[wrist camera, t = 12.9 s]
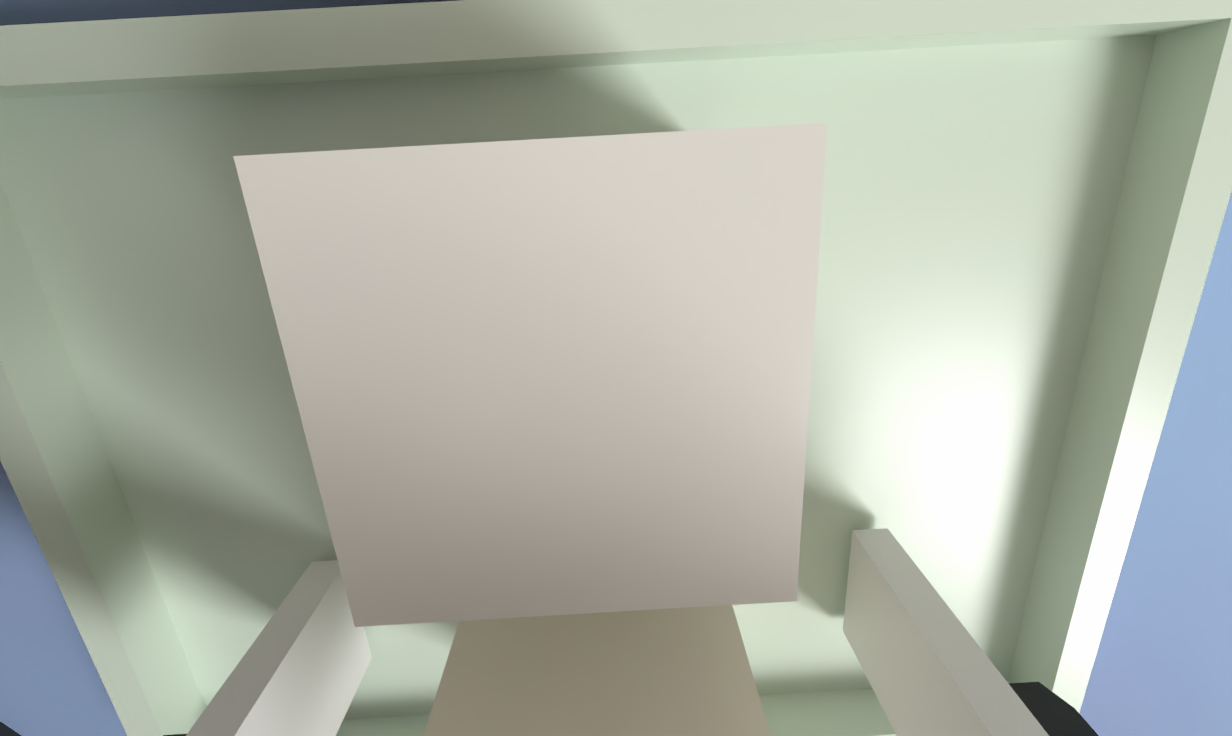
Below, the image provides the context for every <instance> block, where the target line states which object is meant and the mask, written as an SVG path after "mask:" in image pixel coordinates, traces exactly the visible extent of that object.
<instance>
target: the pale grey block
mask: <svg viewBox="0 0 1232 736" xmlns="http://www.w3.org/2000/svg"><path fill="white" fill-rule="evenodd" d="M826 138H827V123H817V124H800V125H782V126H764V127H746V128H728V129H710V130H692V131H674V132H656V133H638V134H620V135H602V136H584V137H566V138H549V139H531V140H513V141H495V142H477V143H459V144H441V145H423V146H405V147H387V148H369V149H351V150H333V151H316V152H298V153H280V154H262V155H244V156H233V157H234V161H235V165H236V169H237V173H238V177H239V181H240V185H241V188H242V192H243V196H244V200H245V204H246V208H247V212H248V216H249V219H250V223H251V227H252V231H253V235H254V239H255V243H256V247H257V250H258V254H259V258H260V262H261V266H262V270H263V274H264V277H265V281H266V285H267V289H268V293H269V297H270V301H271V305H272V308H273V312H274V316H275V320H276V324H277V328H278V332H279V336H280V339H281V343H282V347H283V351H284V355H285V359H286V363H287V367H288V370H289V374H290V378H291V382H292V386H293V390H294V394H295V397H296V401H297V405H298V409H299V413H300V417H301V421H302V425H303V428H304V432H305V436H306V440H307V444H308V448H309V452H310V456H311V459H312V463H313V467H314V471H315V475H316V479H317V483H318V486H319V490H320V494H321V498H322V502H323V506H324V510H325V514H326V517H327V521H328V525H329V529H330V533H331V537H332V541H333V545H334V548H335V552H336V556H337V560H338V564H339V568H340V572H341V576H342V579H343V583H344V587H345V591H346V595H347V599H348V603H349V606H350V610H351V614H352V618H353V622H354V626H355V627H364V626H382V625H399V624H416V623H433V622H450V621H467V620H484V619H501V618H518V617H535V616H552V615H569V614H586V613H603V612H621V611H638V610H655V609H672V608H689V607H706V606H723V605H740V604H757V603H774V602H791V601H797V586H798V571H799V555H800V540H801V524H802V509H803V493H804V478H805V463H806V447H807V432H808V416H809V401H810V385H811V370H812V354H813V339H814V323H815V308H816V293H817V277H818V262H819V246H820V231H821V215H822V200H823V184H824V169H825V154H826Z"/></svg>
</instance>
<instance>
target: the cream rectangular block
mask: <svg viewBox="0 0 1232 736" xmlns="http://www.w3.org/2000/svg"><path fill="white" fill-rule="evenodd" d="M423 736H771V735H770V732H769V729H768V725H767V722H766V718H765V715H764V711H763V708H762V705H761V701H760V698H759V694H758V691H757V688H756V684H755V681H754V677H753V674H752V671H751V667H750V664H749V660H748V657H747V654H746V650H745V647H744V643H743V640H742V636H741V633H740V630H739V626H738V623H737V619H736V616H735V613H734V609H733V606H732V605H723V606H706V607H689V608H672V609H655V610H638V611H621V612H603V613H586V614H569V615H552V616H535V617H518V618H501V619H484V620H467V621H459V623H458V626H457V629H456V633H455V636H454V639H453V642H452V645H451V649H450V652H449V655H448V658H447V661H446V665H445V668H444V671H443V674H442V677H441V681H440V684H439V687H438V690H437V693H436V697H435V700H434V703H433V706H432V709H431V713H430V716H429V719H428V722H427V726H426V729H425V732H424V735H423Z"/></svg>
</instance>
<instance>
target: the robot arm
mask: <svg viewBox="0 0 1232 736" xmlns="http://www.w3.org/2000/svg"><path fill="white" fill-rule="evenodd" d="M843 632H844V634H845V636H846V638H847V640H848V642H849V644H850V646H851V648H852V649H853V651H854V653H855V655H856V657H857V659H858V661H859V663H860V665H861V667H862V669H863V671H864V673H865V675H866V677H867V679H868V681H869V683H870V685H871V687H872V688H873V690H874V692H875V694H876V696H877V698H878V700H879V702H880V704H881V706H882V708H883V710H884V712H885V714H886V716H887V718H888V720H889V722H890V724H891V726H892V727H893V729H894V731H895V733H896V735H897V736H1098V735H1097V734H1096V732H1095V731H1094V730H1093V729H1092V728H1091V727H1090V726H1089V724H1088V723H1087V722H1086V721H1085V720H1084V719H1083V717H1082V716H1081V715H1080V714H1079V713H1078V712H1077V710H1076V709H1075V708H1074V707H1072V706H1071V705H1069V704H1068V703H1067V702H1065V701H1064V700H1063V699H1061V698H1060V697H1059V696H1057V695H1056V694H1055V693H1053V692H1052V691H1051V690H1049V689H1048V688H1047V687H1045V686H1044V685H1043V684H1041V683H1040V682H1024V683H1008V682H1007V681H1006V680H1005V679H1004V677H1003V676H1002V675H1001V673H1000V672H999V671H998V670H997V668H996V667H995V666H994V664H993V663H992V662H991V661H990V659H989V658H988V657H987V655H986V654H985V653H984V652H983V650H982V649H981V648H980V646H979V645H978V644H977V643H976V641H975V640H974V639H973V637H972V636H971V635H970V634H969V632H968V631H967V630H966V628H965V627H964V626H963V625H962V623H961V622H960V621H959V619H958V618H957V617H956V616H955V614H954V613H953V612H952V610H951V609H950V608H949V607H948V605H947V604H946V603H945V601H944V600H943V599H942V598H941V596H940V595H939V594H938V592H937V591H936V590H935V589H934V587H933V586H932V585H931V583H930V582H929V581H928V580H927V578H926V577H925V576H924V574H923V573H922V572H921V571H920V569H919V568H918V567H917V565H916V564H915V563H914V562H913V560H912V559H911V558H910V556H909V555H908V554H907V553H906V551H905V550H904V549H903V548H902V546H901V545H900V544H899V542H898V541H897V540H896V539H895V537H894V536H893V535H892V533H891V532H890V531H889V530H888V528H884V529H866V530H852V540H851V550H850V560H849V570H848V580H847V590H846V600H845V610H844V620H843ZM371 659H372V656H371V652H370V648H369V644H368V640H367V636H366V632H365V628H364V627H355V626H354V622H353V618H352V614H351V610H350V606H349V603H348V599H347V595H346V591H345V587H344V583H343V579H342V576H341V572H340V568H339V564H338V560H332V561H315V562H312V563H311V564H310V565H309V567H308V568H307V569H306V571H305V572H304V574H303V575H302V576H301V578H300V579H299V580H298V582H297V583H296V585H295V586H294V587H293V589H292V590H291V591H290V593H289V594H288V596H287V597H286V598H285V600H284V601H283V602H282V604H281V605H280V607H279V608H278V609H277V611H276V612H275V613H274V615H273V616H272V618H271V619H270V620H269V622H268V623H267V624H266V626H265V627H264V629H263V630H262V631H261V633H260V634H259V636H258V637H257V638H256V640H255V641H254V642H253V644H252V645H251V647H250V648H249V649H248V651H247V652H246V653H245V655H244V656H243V658H242V659H241V660H240V662H239V663H238V664H237V666H236V667H235V669H234V670H233V671H232V673H231V674H230V675H229V677H228V678H227V680H226V681H225V682H224V684H223V685H222V686H221V688H220V689H219V691H218V692H217V693H216V695H215V696H214V697H213V699H212V700H211V702H210V703H209V704H208V706H207V707H206V709H205V710H204V711H203V713H202V714H201V715H200V717H199V718H198V720H197V721H196V722H195V724H194V725H193V726H192V728H191V729H190V731H189V732H188V733H187V734H174V735H163V736H336V734H337V732H338V730H339V728H340V725H341V723H342V721H343V719H344V717H345V715H346V712H347V710H348V708H349V706H350V704H351V702H352V700H353V697H354V695H355V693H356V691H357V689H358V687H359V684H360V682H361V680H362V678H363V676H364V674H365V672H366V669H367V667H368V665H369V663H370V661H371ZM0 736H21V735H19V734H18V733H16V732H15V731H13V730H12V729H10V728H9V727H7V726H6V725H4V724H3V723H2V722H0Z"/></svg>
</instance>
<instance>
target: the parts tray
mask: <svg viewBox="0 0 1232 736" xmlns="http://www.w3.org/2000/svg"><path fill="white" fill-rule="evenodd" d="M817 123H827V138H826V154H825V169H824V184H823V200H822V215H821V231H820V246H819V262H818V277H817V293H816V308H815V323H814V339H813V354H812V370H811V385H810V401H809V416H808V432H807V447H806V463H805V478H804V493H803V509H802V524H801V540H800V555H799V571H798V586H797V601H791V602H774V603H757V604H740V605H732V606H733V609H734V613H735V616H736V619H737V623H738V626H739V630H740V633H741V636H742V640H743V643H744V647H745V650H746V654H747V657H748V660H749V664H750V667H751V671H752V674H753V677H754V681H755V684H756V688H757V691H758V694H759V698H760V701H761V705H762V708H763V711H764V715H765V718H766V722H767V725H768V729H769V732H770V735H771V736H897V735H896V733H895V731H894V729H893V727H892V726H891V724H890V722H889V720H888V718H887V716H886V714H885V712H884V710H883V708H882V706H881V704H880V702H879V700H878V698H877V696H876V694H875V692H874V690H873V688H872V687H871V685H870V683H869V681H868V679H867V677H866V675H865V673H864V671H863V669H862V667H861V665H860V663H859V661H858V659H857V657H856V655H855V653H854V651H853V649H852V648H851V646H850V644H849V642H848V640H847V638H846V636H845V634H844V632H843V620H844V610H845V600H846V590H847V580H848V570H849V560H850V550H851V540H852V530H866V529H884V528H888V530H889V531H890V532H891V533H892V535H893V536H894V537H895V539H896V540H897V541H898V542H899V544H900V545H901V546H902V548H903V549H904V550H905V551H906V553H907V554H908V555H909V556H910V558H911V559H912V560H913V562H914V563H915V564H916V565H917V567H918V568H919V569H920V571H921V572H922V573H923V574H924V576H925V577H926V578H927V580H928V581H929V582H930V583H931V585H932V586H933V587H934V589H935V590H936V591H937V592H938V594H939V595H940V596H941V598H942V599H943V600H944V601H945V603H946V604H947V605H948V607H949V608H950V609H951V610H952V612H953V613H954V614H955V616H956V617H957V618H958V619H959V621H960V622H961V623H962V625H963V626H964V627H965V628H966V630H967V631H968V632H969V634H970V635H971V636H972V637H973V639H974V640H975V641H976V643H977V644H978V645H979V646H980V648H981V649H982V650H983V652H984V653H985V654H986V655H987V657H988V658H989V659H990V661H991V662H992V663H993V664H994V666H995V667H996V668H997V670H998V671H999V672H1000V673H1001V675H1002V676H1003V677H1004V679H1005V680H1006V681H1007V682H1008V683H1024V682H1040V683H1041V684H1043V685H1044V686H1045V687H1047V688H1048V689H1049V690H1051V691H1052V692H1053V693H1055V694H1056V695H1057V696H1059V697H1060V698H1061V699H1063V700H1064V701H1065V702H1067V703H1068V704H1069V705H1071V706H1072V707H1074V708H1075V709H1076V710H1077V712H1078V713H1079V712H1080V708H1081V705H1082V702H1083V698H1084V695H1085V691H1086V688H1087V684H1088V681H1089V678H1090V674H1091V671H1092V667H1093V664H1094V660H1095V657H1096V654H1097V650H1098V647H1099V643H1100V640H1101V637H1102V633H1103V630H1104V626H1105V623H1106V619H1107V616H1108V613H1109V609H1110V606H1111V602H1112V599H1113V595H1114V592H1115V589H1116V585H1117V582H1118V578H1119V575H1120V571H1121V568H1122V565H1123V561H1124V558H1125V554H1126V551H1127V547H1128V544H1129V541H1130V537H1131V534H1132V530H1133V527H1134V523H1135V520H1136V517H1137V513H1138V510H1139V506H1140V503H1141V499H1142V496H1143V493H1144V489H1145V486H1146V482H1147V479H1148V476H1149V472H1150V469H1151V465H1152V462H1153V458H1154V455H1155V452H1156V448H1157V445H1158V441H1159V438H1160V434H1161V431H1162V428H1163V424H1164V421H1165V417H1166V414H1167V410H1168V407H1169V404H1170V400H1171V397H1172V393H1173V390H1174V386H1175V383H1176V380H1177V376H1178V373H1179V369H1180V366H1181V362H1182V359H1183V356H1184V352H1185V349H1186V345H1187V342H1188V338H1189V335H1190V332H1191V328H1192V325H1193V321H1194V318H1195V315H1196V311H1197V308H1198V304H1199V301H1200V297H1201V294H1202V291H1203V287H1204V284H1205V280H1206V277H1207V273H1208V270H1209V267H1210V263H1211V260H1212V256H1213V253H1214V249H1215V246H1216V243H1217V239H1218V236H1219V232H1220V229H1221V225H1222V222H1223V219H1224V215H1225V212H1226V208H1227V205H1228V201H1229V198H1230V195H1231V191H1232V0H458V1H440V2H421V3H403V4H385V5H367V6H349V7H330V8H312V9H294V10H276V11H258V12H239V13H221V14H203V15H185V16H167V17H148V18H130V19H112V20H94V21H76V22H57V23H39V24H21V25H3V26H0V461H1V463H2V465H3V468H4V470H5V472H6V474H7V476H8V478H9V481H10V483H11V485H12V487H13V489H14V491H15V494H16V496H17V498H18V500H19V502H20V504H21V506H22V509H23V511H24V513H25V515H26V517H27V519H28V522H29V524H30V526H31V528H32V530H33V532H34V535H35V537H36V539H37V541H38V543H39V545H40V548H41V550H42V552H43V554H44V556H45V558H46V561H47V563H48V565H49V567H50V569H51V571H52V574H53V576H54V578H55V580H56V582H57V584H58V587H59V589H60V591H61V593H62V595H63V597H64V600H65V602H66V604H67V606H68V608H69V610H70V613H71V615H72V617H73V619H74V621H75V623H76V625H77V628H78V630H79V632H80V634H81V636H82V638H83V641H84V643H85V645H86V647H87V649H88V651H89V654H90V656H91V658H92V660H93V662H94V664H95V667H96V669H97V671H98V673H99V675H100V677H101V680H102V682H103V684H104V686H105V688H106V690H107V693H108V695H109V697H110V699H111V701H112V703H113V706H114V708H115V710H116V712H117V714H118V716H119V719H120V721H121V723H122V725H123V727H124V729H125V732H126V734H127V736H163V735H174V734H187V733H188V732H189V731H190V729H191V728H192V726H193V725H194V724H195V722H196V721H197V720H198V718H199V717H200V715H201V714H202V713H203V711H204V710H205V709H206V707H207V706H208V704H209V703H210V702H211V700H212V699H213V697H214V696H215V695H216V693H217V692H218V691H219V689H220V688H221V686H222V685H223V684H224V682H225V681H226V680H227V678H228V677H229V675H230V674H231V673H232V671H233V670H234V669H235V667H236V666H237V664H238V663H239V662H240V660H241V659H242V658H243V656H244V655H245V653H246V652H247V651H248V649H249V648H250V647H251V645H252V644H253V642H254V641H255V640H256V638H257V637H258V636H259V634H260V633H261V631H262V630H263V629H264V627H265V626H266V624H267V623H268V622H269V620H270V619H271V618H272V616H273V615H274V613H275V612H276V611H277V609H278V608H279V607H280V605H281V604H282V602H283V601H284V600H285V598H286V597H287V596H288V594H289V593H290V591H291V590H292V589H293V587H294V586H295V585H296V583H297V582H298V580H299V579H300V578H301V576H302V575H303V574H304V572H305V571H306V569H307V568H308V567H309V565H310V564H311V563H312V562H315V561H332V560H337V556H336V552H335V548H334V545H333V541H332V537H331V533H330V529H329V525H328V521H327V517H326V514H325V510H324V506H323V502H322V498H321V494H320V490H319V486H318V483H317V479H316V475H315V471H314V467H313V463H312V459H311V456H310V452H309V448H308V444H307V440H306V436H305V432H304V428H303V425H302V421H301V417H300V413H299V409H298V405H297V401H296V397H295V394H294V390H293V386H292V382H291V378H290V374H289V370H288V367H287V363H286V359H285V355H284V351H283V347H282V343H281V339H280V336H279V332H278V328H277V324H276V320H275V316H274V312H273V308H272V305H271V301H270V297H269V293H268V289H267V285H266V281H265V277H264V274H263V270H262V266H261V262H260V258H259V254H258V250H257V247H256V243H255V239H254V235H253V231H252V227H251V223H250V219H249V216H248V212H247V208H246V204H245V200H244V196H243V192H242V188H241V185H240V181H239V177H238V173H237V169H236V165H235V161H234V157H233V156H244V155H262V154H280V153H298V152H316V151H333V150H351V149H369V148H387V147H405V146H423V145H441V144H459V143H477V142H495V141H513V140H531V139H549V138H566V137H584V136H602V135H620V134H638V133H656V132H674V131H692V130H710V129H728V128H746V127H764V126H782V125H800V124H817ZM458 623H459V621H450V622H433V623H416V624H399V625H382V626H364V628H365V632H366V636H367V640H368V644H369V648H370V652H371V656H372V659H371V661H370V663H369V665H368V667H367V669H366V672H365V674H364V676H363V678H362V680H361V682H360V684H359V687H358V689H357V691H356V693H355V695H354V697H353V700H352V702H351V704H350V706H349V708H348V710H347V712H346V715H345V717H344V719H343V721H342V723H341V725H340V728H339V730H338V732H337V734H336V736H423V735H424V732H425V729H426V726H427V722H428V719H429V716H430V713H431V709H432V706H433V703H434V700H435V697H436V693H437V690H438V687H439V684H440V681H441V677H442V674H443V671H444V668H445V665H446V661H447V658H448V655H449V652H450V649H451V645H452V642H453V639H454V636H455V633H456V629H457V626H458Z"/></svg>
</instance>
